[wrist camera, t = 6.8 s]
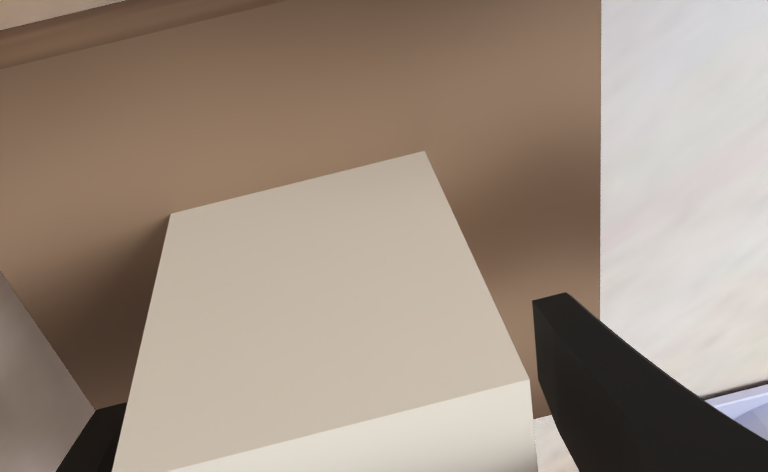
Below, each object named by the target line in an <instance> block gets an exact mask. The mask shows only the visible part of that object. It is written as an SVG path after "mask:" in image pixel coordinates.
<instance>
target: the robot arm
mask: <svg viewBox="0 0 768 472" xmlns="http://www.w3.org/2000/svg"><path fill="white" fill-rule="evenodd" d="M532 307H533V320H534V333H535V346H536V359H537V372H538V381H539V383H540V386H541V388H542V391H543V394H544V396H545V399H546V401H547V404H548V407H549V409H550V412H551V414H552V416H553V419H554V421H555V424H556V426H557V429H558V431H559V433H560V435H561V437H562V439H563V441H564V443H565V445H566V447H567V448H568V450H569V452H570V454H571V456H572V458H573V460H574V462H575V464H576V465H577V467H578V469H579V471H580V472H768V384H766V385H763V386H759V387H755V388H751V389H747V390H743V391H739V392H735V393H731V394H727V395H723V396H719V397H715V398H711V399H708V400H703V399H701V398H700V397H699V396H697V395H696V394H694V393H693V392H691V391H690V390H688V389H687V388H686V387H684V386H683V385H681V384H680V383H679V382H677V381H676V380H675V379H673V378H672V377H670V376H669V375H668V374H666V373H665V372H664V371H662V370H661V369H660V368H658V367H657V366H656V365H655V364H653V363H652V362H651V361H649V360H648V359H647V358H645V357H644V356H643V355H641V354H640V353H639V352H638V351H636V350H635V349H634V348H633V347H631V346H630V345H629V344H628V343H626V342H625V341H624V340H623V339H621V338H620V337H619V336H618V335H617V334H615V333H614V332H613V331H612V330H611V329H609V328H608V327H607V326H606V325H605V324H603V323H602V322H601V321H600V320H599V319H598V318H596V317H595V316H594V315H593V314H592V313H591V312H589V311H588V310H587V309H586V308H585V307H584V306H583V305H581V304H580V303H579V302H578V301H577V300H576V299H575V298H574V297H573V296H571V295H570V294H568V293H566V292H564V293H560V294H556V295H552V296H548V297H544V298H540V299H536V300H532ZM127 403H128V402H125V403H121V404H117V405H113V406H109V407H105V408H101V409H97V410H96V411H95V413H94V414H93V416H92V417H91V418H90V420H89V421H88V423H87V424H86V426H85V427H84V429H83V430H82V432H81V434H80V435H79V437H78V438H77V440H76V441H75V443H74V444H73V446H72V447H71V449H70V450H69V452H68V454H67V455H66V457H65V458H64V460H63V461H62V463H61V464H60V466H59V467H58V469H57V470H56V472H112V468H113V464H114V460H115V455H116V451H117V447H118V442H119V438H120V433H121V429H122V425H123V420H124V416H125V412H126V407H127Z"/></svg>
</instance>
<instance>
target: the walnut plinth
mask: <svg viewBox="0 0 768 472" xmlns="http://www.w3.org/2000/svg"><path fill="white" fill-rule="evenodd" d="M422 151H425V153H426V155H427V157H428V160H429V162H430V164H431V166H432V168H433V170H434V173H435V175H436V177H437V179H438V181H439V183H440V186H441V188H442V190H443V192H444V194H445V197H446V199H447V201H448V203H449V205H450V207H451V210H452V212H453V214H454V216H455V218H456V220H457V223H458V225H459V227H460V229H461V231H462V233H463V236H464V238H465V240H466V242H467V244H468V247H469V249H470V251H471V253H472V255H473V257H474V260H475V262H476V264H477V266H478V268H479V270H480V273H481V275H482V277H483V279H484V281H485V284H486V286H487V288H488V290H489V292H490V294H491V297H492V299H493V301H494V303H495V305H496V307H497V310H498V312H499V314H500V316H501V318H502V320H503V323H504V325H505V327H506V329H507V331H508V334H509V336H510V338H511V340H512V342H513V344H514V347H515V349H516V351H517V353H518V355H519V357H520V360H521V362H522V364H523V366H524V368H525V370H526V373H527V375H528V377H529V379H530V390H531V401H532V412H533V419H536V418H540V417H544V416H548V415H552V414H551V412H550V409H549V407H548V404H547V401H546V399H545V396H544V394H543V391H542V388H541V386H540V383H539V381H538V372H537V359H536V346H535V333H534V320H533V307H532V300H536V299H540V298H544V297H548V296H552V295H556V294H560V293H564V292H566V293H568V294H570V295H571V296H573V297H574V298H575V299H576V300H577V301H578V302H579V303H580V304H581V305H583V306H584V307H585V308H586V309H587V310H588V311H589V312H591V313H592V314H593V315H594V316H595V317H596V318H598V319H599V320H600V151H601V0H127V1H122V2H118V3H114V4H110V5H106V6H101V7H97V8H93V9H89V10H85V11H80V12H76V13H72V14H68V15H64V16H59V17H55V18H51V19H47V20H43V21H39V22H34V23H30V24H26V25H22V26H18V27H13V28H9V29H5V30H1V31H0V271H1V273H2V274H3V276H4V277H5V278H6V280H7V281H8V283H9V284H10V286H11V287H12V289H13V290H14V292H15V293H16V295H17V296H18V297H19V299H20V300H21V302H22V303H23V305H24V306H25V308H26V309H27V311H28V312H29V314H30V315H31V317H32V318H33V319H34V321H35V322H36V324H37V325H38V327H39V328H40V330H41V331H42V333H43V334H44V336H45V337H46V338H47V340H48V341H49V343H50V344H51V346H52V347H53V349H54V350H55V352H56V353H57V355H58V356H59V358H60V359H61V360H62V362H63V363H64V365H65V366H66V368H67V369H68V371H69V372H70V374H71V375H72V377H73V378H74V379H75V381H76V382H77V384H78V385H79V387H80V388H81V390H82V391H83V393H84V394H85V396H86V397H87V399H88V400H89V401H90V403H91V404H92V406H93V407H94V409H95V410H97V409H101V408H105V407H109V406H113V405H117V404H121V403H125V402H128V398H129V394H130V390H131V385H132V381H133V377H134V372H135V368H136V363H137V359H138V355H139V350H140V346H141V342H142V337H143V333H144V328H145V324H146V320H147V315H148V311H149V307H150V302H151V298H152V293H153V289H154V285H155V280H156V276H157V272H158V267H159V263H160V259H161V254H162V250H163V245H164V241H165V237H166V232H167V228H168V224H169V219H170V215H171V214H172V213H176V212H180V211H184V210H188V209H192V208H196V207H200V206H204V205H208V204H212V203H216V202H220V201H224V200H228V199H232V198H236V197H240V196H244V195H248V194H252V193H256V192H261V191H265V190H269V189H273V188H277V187H281V186H285V185H289V184H293V183H297V182H301V181H305V180H309V179H313V178H317V177H321V176H325V175H329V174H333V173H337V172H341V171H345V170H349V169H353V168H357V167H361V166H365V165H369V164H373V163H377V162H381V161H385V160H390V159H394V158H398V157H402V156H406V155H410V154H414V153H418V152H422Z"/></svg>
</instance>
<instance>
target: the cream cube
mask: <svg viewBox="0 0 768 472" xmlns="http://www.w3.org/2000/svg"><path fill="white" fill-rule="evenodd" d="M112 472H538V466H537V455H536V444H535V433H534V423H533V412H532V401H531V390H530V379H529V377H528V375H527V373H526V370H525V368H524V366H523V364H522V362H521V360H520V357H519V355H518V353H517V351H516V349H515V347H514V344H513V342H512V340H511V338H510V336H509V334H508V331H507V329H506V327H505V325H504V323H503V320H502V318H501V316H500V314H499V312H498V310H497V307H496V305H495V303H494V301H493V299H492V297H491V294H490V292H489V290H488V288H487V286H486V284H485V281H484V279H483V277H482V275H481V273H480V270H479V268H478V266H477V264H476V262H475V260H474V257H473V255H472V253H471V251H470V249H469V247H468V244H467V242H466V240H465V238H464V236H463V233H462V231H461V229H460V227H459V225H458V223H457V220H456V218H455V216H454V214H453V212H452V210H451V207H450V205H449V203H448V201H447V199H446V197H445V194H444V192H443V190H442V188H441V186H440V183H439V181H438V179H437V177H436V175H435V173H434V170H433V168H432V166H431V164H430V162H429V160H428V157H427V155H426V153H425V151H422V152H418V153H414V154H410V155H406V156H402V157H398V158H394V159H390V160H385V161H381V162H377V163H373V164H369V165H365V166H361V167H357V168H353V169H349V170H345V171H341V172H337V173H333V174H329V175H325V176H321V177H317V178H313V179H309V180H305V181H301V182H297V183H293V184H289V185H285V186H281V187H277V188H273V189H269V190H265V191H261V192H256V193H252V194H248V195H244V196H240V197H236V198H232V199H228V200H224V201H220V202H216V203H212V204H208V205H204V206H200V207H196V208H192V209H188V210H184V211H180V212H176V213H172V214H171V215H170V219H169V224H168V228H167V232H166V237H165V241H164V245H163V250H162V254H161V259H160V263H159V267H158V272H157V276H156V280H155V285H154V289H153V293H152V298H151V302H150V307H149V311H148V315H147V320H146V324H145V328H144V333H143V337H142V342H141V346H140V350H139V355H138V359H137V363H136V368H135V372H134V377H133V381H132V385H131V390H130V394H129V398H128V403H127V407H126V412H125V416H124V420H123V425H122V429H121V433H120V438H119V442H118V447H117V451H116V455H115V460H114V464H113V468H112Z"/></svg>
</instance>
